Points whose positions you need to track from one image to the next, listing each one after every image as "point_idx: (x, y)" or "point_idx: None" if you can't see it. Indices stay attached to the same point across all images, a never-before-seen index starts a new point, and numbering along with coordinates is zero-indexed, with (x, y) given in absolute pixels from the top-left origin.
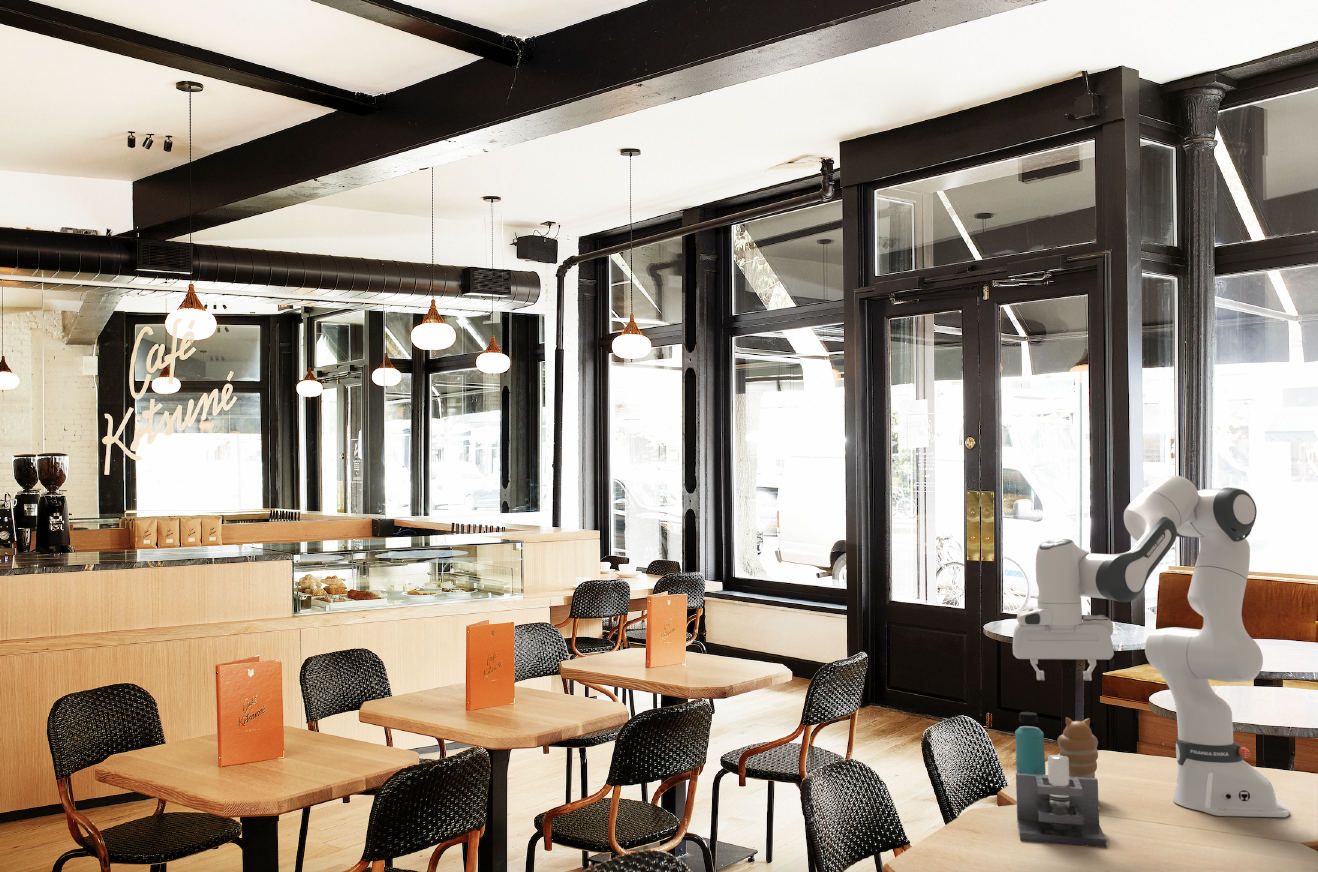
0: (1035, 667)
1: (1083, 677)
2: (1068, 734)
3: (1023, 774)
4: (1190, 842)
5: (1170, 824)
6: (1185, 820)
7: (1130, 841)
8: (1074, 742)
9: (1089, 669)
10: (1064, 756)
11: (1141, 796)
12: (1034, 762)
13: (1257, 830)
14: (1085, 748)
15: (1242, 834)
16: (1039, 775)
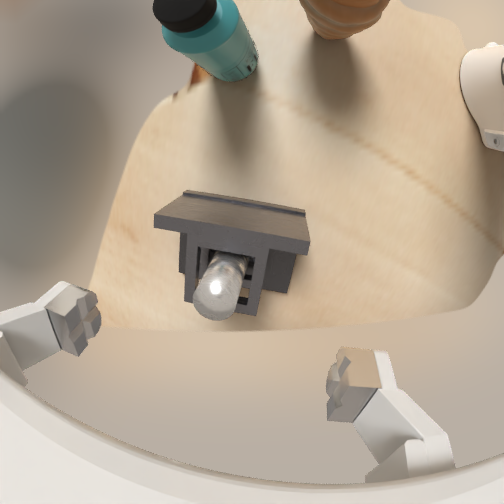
0: (30, 359)
1: (340, 359)
2: None
3: (167, 223)
4: (404, 259)
5: (419, 179)
6: (445, 160)
7: (330, 261)
8: (331, 7)
9: (364, 439)
10: (229, 294)
11: (425, 35)
12: (219, 67)
13: (495, 207)
14: (354, 22)
15: (475, 223)
16: (196, 228)
